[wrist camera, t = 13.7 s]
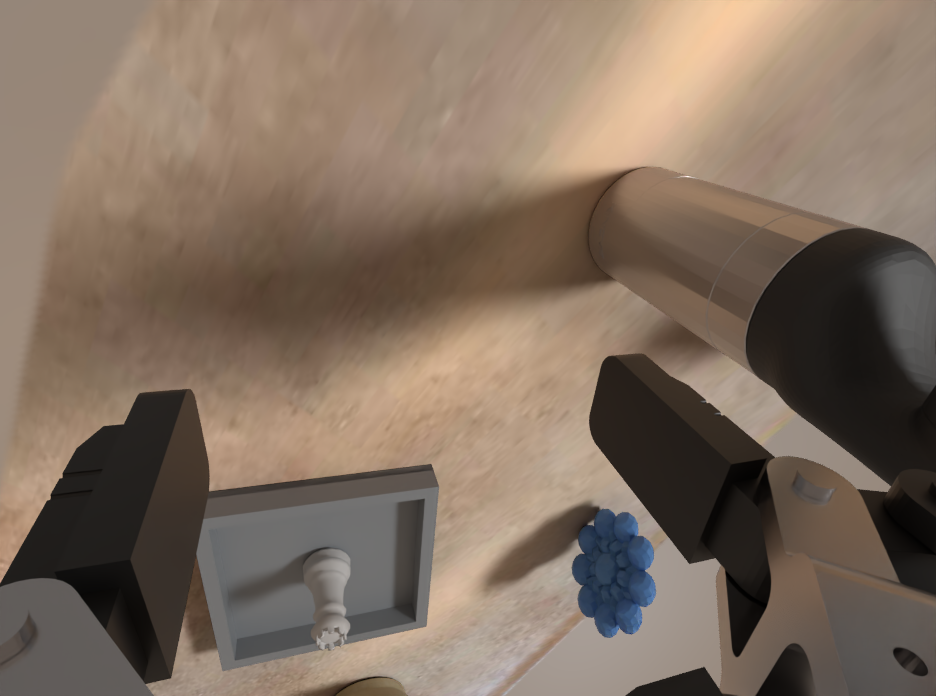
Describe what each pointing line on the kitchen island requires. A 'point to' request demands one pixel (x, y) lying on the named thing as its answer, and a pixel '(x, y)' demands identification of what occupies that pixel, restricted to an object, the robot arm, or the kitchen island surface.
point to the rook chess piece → (328, 595)
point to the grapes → (614, 573)
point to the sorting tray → (296, 538)
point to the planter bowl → (374, 688)
